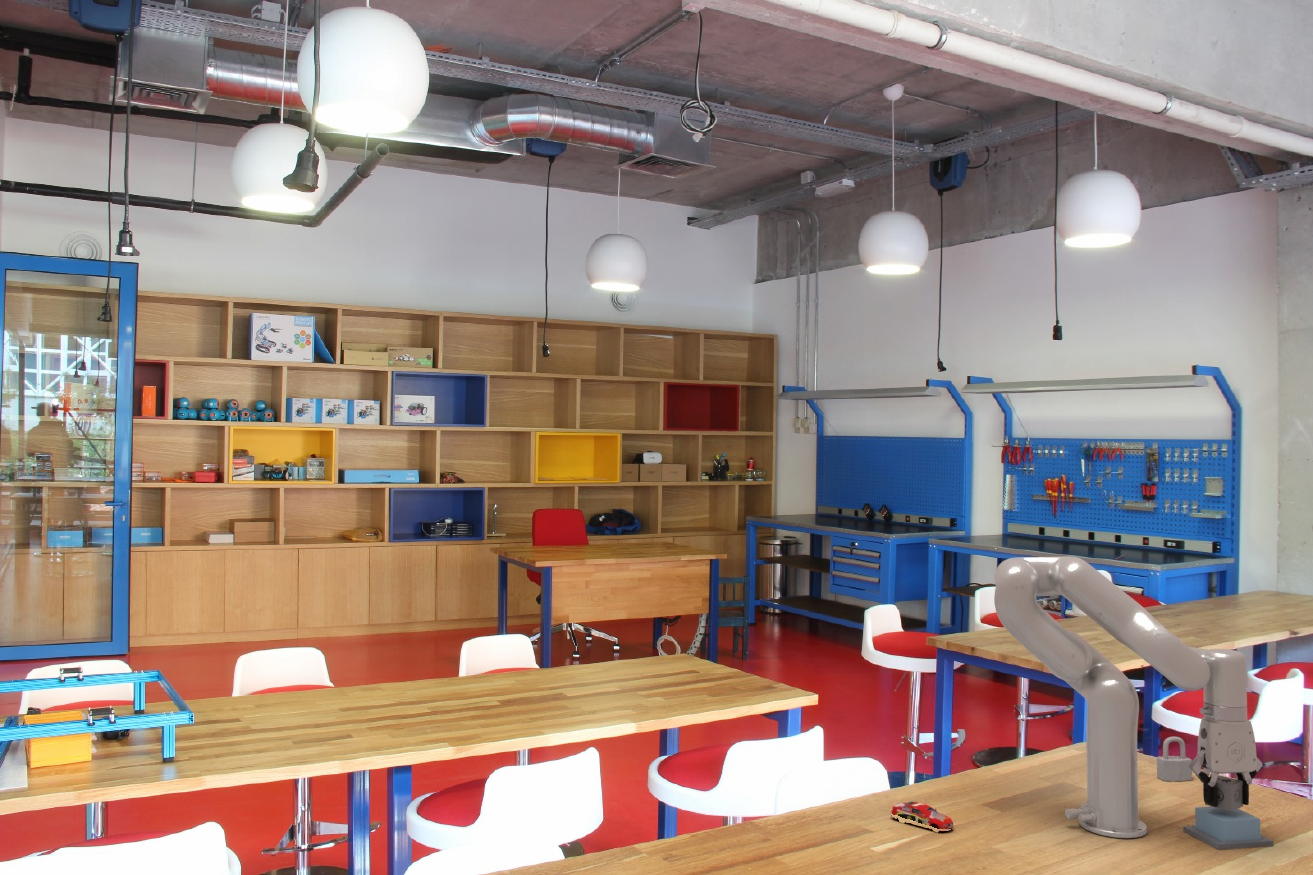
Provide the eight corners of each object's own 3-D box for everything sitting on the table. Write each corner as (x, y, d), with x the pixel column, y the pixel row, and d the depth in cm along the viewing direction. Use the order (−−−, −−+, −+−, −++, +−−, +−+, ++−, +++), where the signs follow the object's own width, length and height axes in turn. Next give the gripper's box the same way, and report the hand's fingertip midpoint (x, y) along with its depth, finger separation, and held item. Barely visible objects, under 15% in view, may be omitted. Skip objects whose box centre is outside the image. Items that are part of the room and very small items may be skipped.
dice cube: (1231, 811, 197) (1231, 785, 198) (1205, 804, 201) (1204, 779, 202) (1243, 806, 200) (1242, 781, 201) (1216, 799, 204) (1216, 774, 205)
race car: (958, 830, 206) (958, 810, 206) (944, 837, 202) (944, 817, 202) (902, 813, 215) (902, 795, 215) (888, 820, 212) (888, 800, 212)
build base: (1218, 849, 195) (1218, 823, 195) (1183, 831, 204) (1182, 806, 205) (1273, 846, 197) (1273, 820, 197) (1236, 827, 206) (1235, 803, 207)
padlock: (1165, 782, 236) (1164, 739, 236) (1155, 777, 240) (1154, 734, 240) (1194, 781, 237) (1193, 738, 237) (1183, 776, 241) (1183, 734, 241)
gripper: (1199, 719, 196) (1200, 812, 196) (1278, 715, 199) (1279, 807, 198) (1173, 709, 203) (1174, 799, 203) (1249, 706, 206) (1250, 795, 206)
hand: (1226, 802), depth 201 cm, fingers closed on dice cube, 6 cm apart
